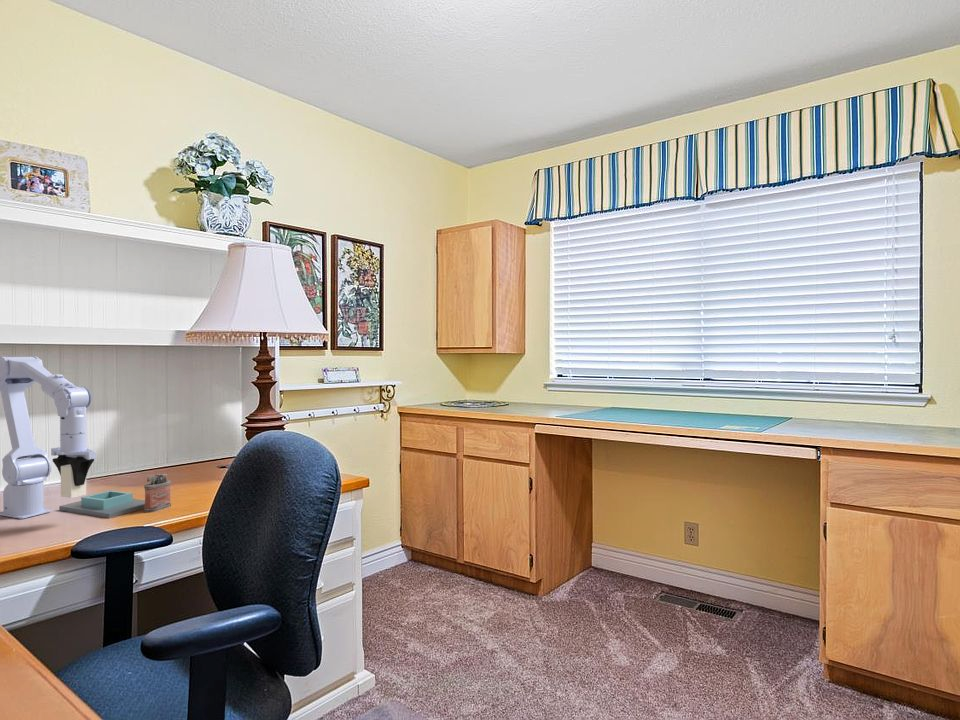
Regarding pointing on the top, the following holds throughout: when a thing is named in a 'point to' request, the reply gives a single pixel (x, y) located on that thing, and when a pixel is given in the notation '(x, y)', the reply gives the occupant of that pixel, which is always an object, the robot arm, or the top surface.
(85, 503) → the organizer
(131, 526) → the top surface
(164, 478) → the lighter
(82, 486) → the cream block
